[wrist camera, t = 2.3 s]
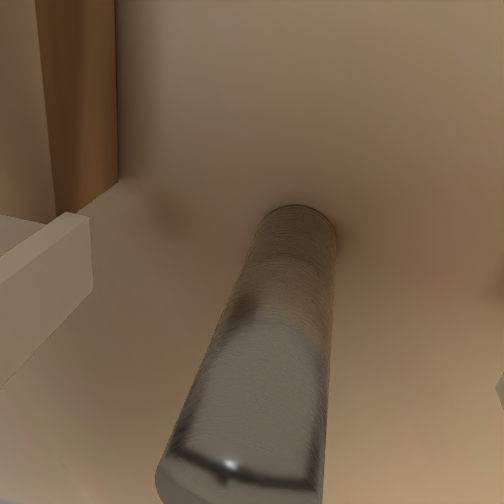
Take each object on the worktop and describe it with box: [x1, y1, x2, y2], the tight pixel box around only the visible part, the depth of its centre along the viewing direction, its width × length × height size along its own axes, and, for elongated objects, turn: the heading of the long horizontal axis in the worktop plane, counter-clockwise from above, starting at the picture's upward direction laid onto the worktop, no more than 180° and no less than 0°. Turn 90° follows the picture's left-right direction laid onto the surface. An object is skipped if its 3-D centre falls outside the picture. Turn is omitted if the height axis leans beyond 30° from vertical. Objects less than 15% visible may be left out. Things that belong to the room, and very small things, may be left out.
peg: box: [155, 206, 337, 504], centre depth 12 cm, size 3×3×10 cm
